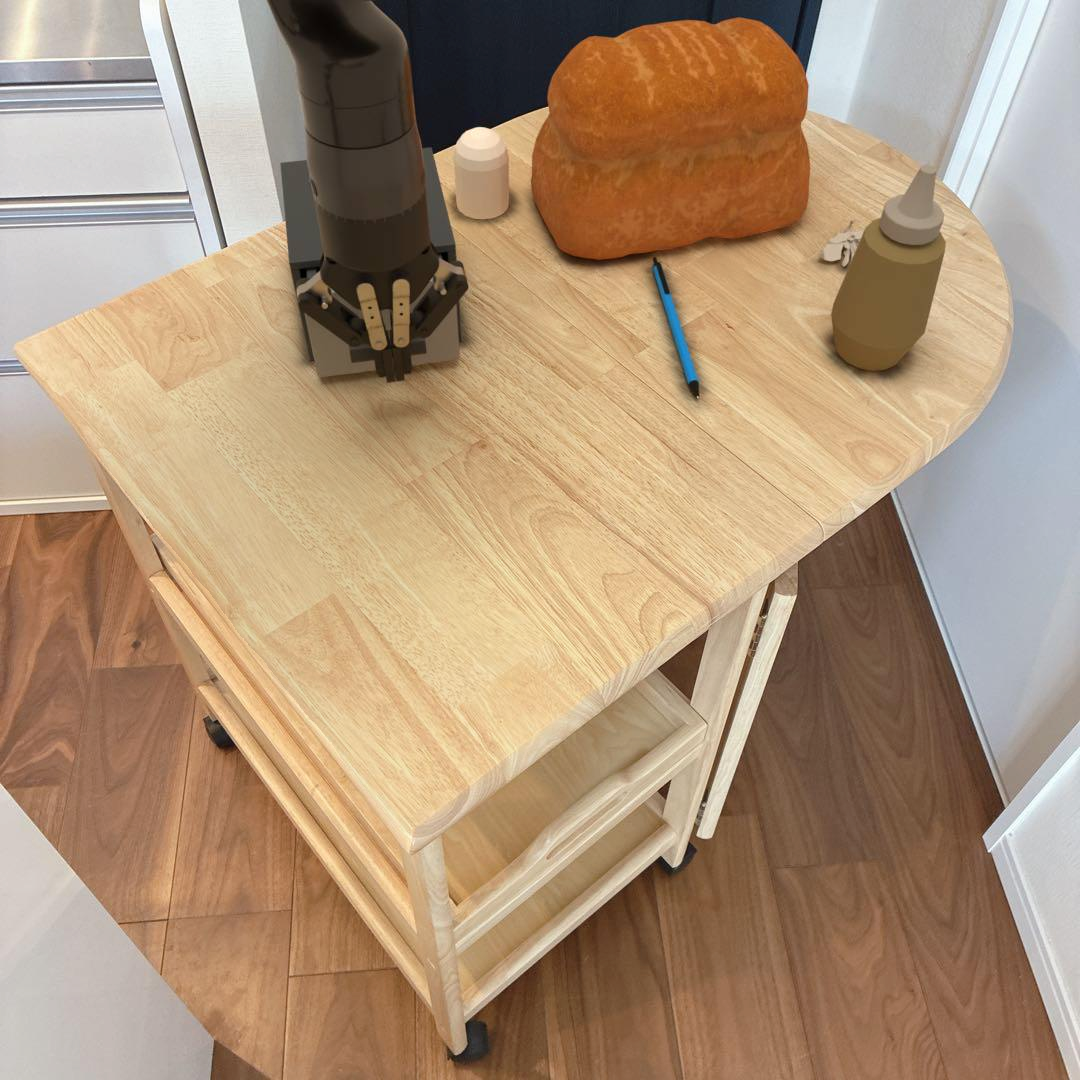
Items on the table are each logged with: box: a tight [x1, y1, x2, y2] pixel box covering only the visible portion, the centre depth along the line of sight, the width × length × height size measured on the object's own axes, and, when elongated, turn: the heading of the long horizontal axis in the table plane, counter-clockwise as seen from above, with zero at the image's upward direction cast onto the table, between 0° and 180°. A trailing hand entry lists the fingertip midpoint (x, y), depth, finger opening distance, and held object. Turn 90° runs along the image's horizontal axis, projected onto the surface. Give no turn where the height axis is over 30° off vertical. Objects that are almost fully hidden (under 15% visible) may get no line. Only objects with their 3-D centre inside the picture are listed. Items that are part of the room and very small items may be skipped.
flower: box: [817, 219, 864, 268], centre depth 101 cm, size 8×8×3 cm
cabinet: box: [279, 147, 462, 361], centre depth 93 cm, size 14×13×10 cm
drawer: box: [305, 253, 461, 378], centre depth 90 cm, size 18×12×9 cm
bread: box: [530, 16, 811, 261], centre depth 100 cm, size 16×26×17 cm, turn 106°
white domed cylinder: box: [453, 126, 510, 220], centre depth 104 cm, size 5×5×8 cm
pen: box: [652, 256, 700, 399], centre depth 95 cm, size 1×19×1 cm, turn 7°
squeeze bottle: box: [830, 164, 947, 372], centre depth 87 cm, size 8×8×18 cm
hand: (394, 374), depth 84 cm, fingers closed
